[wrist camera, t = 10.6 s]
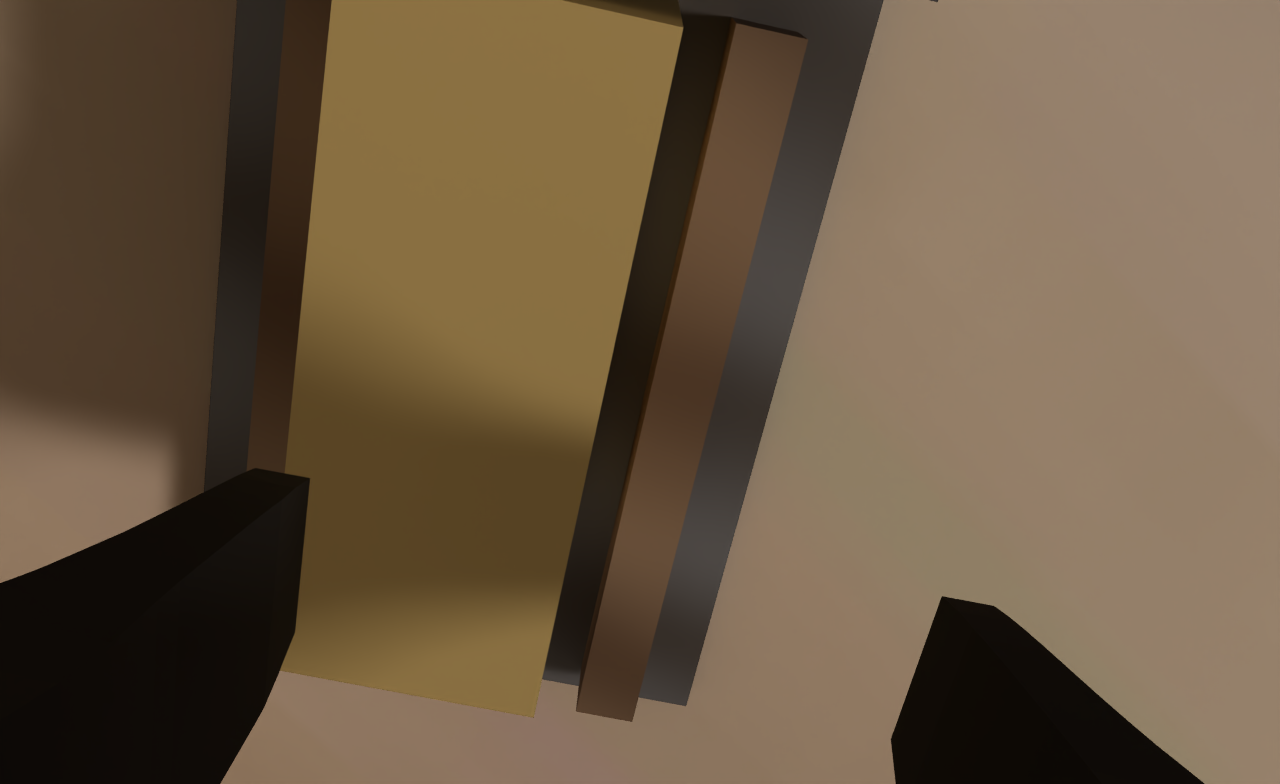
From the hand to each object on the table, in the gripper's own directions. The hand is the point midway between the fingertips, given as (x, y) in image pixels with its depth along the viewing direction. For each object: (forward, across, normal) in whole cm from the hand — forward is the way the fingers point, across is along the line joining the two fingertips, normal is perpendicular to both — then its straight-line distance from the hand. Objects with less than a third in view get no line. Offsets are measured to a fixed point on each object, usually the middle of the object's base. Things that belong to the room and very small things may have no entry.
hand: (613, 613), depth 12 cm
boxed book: (+10, +2, -1) cm, 10 cm away
